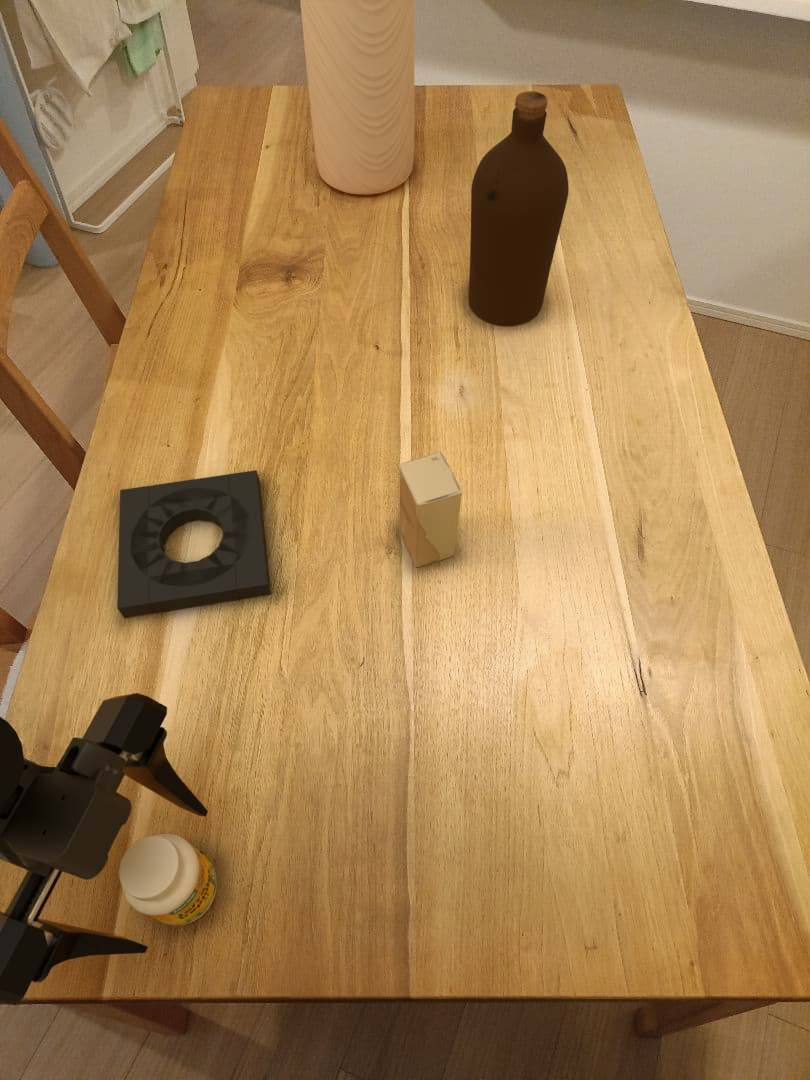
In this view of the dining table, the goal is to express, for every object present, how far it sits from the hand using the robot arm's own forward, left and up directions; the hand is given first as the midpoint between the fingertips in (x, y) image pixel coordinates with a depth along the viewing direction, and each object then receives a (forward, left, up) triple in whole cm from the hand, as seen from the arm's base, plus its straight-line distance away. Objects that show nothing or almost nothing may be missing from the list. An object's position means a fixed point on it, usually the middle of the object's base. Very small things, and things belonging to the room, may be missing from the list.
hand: (176, 878), depth 54 cm
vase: (+28, +95, -7) cm, 99 cm away
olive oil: (+41, +63, -7) cm, 75 cm away
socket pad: (+1, +33, -7) cm, 33 cm away
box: (+24, +29, -7) cm, 38 cm away
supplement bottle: (-1, +1, -7) cm, 7 cm away
